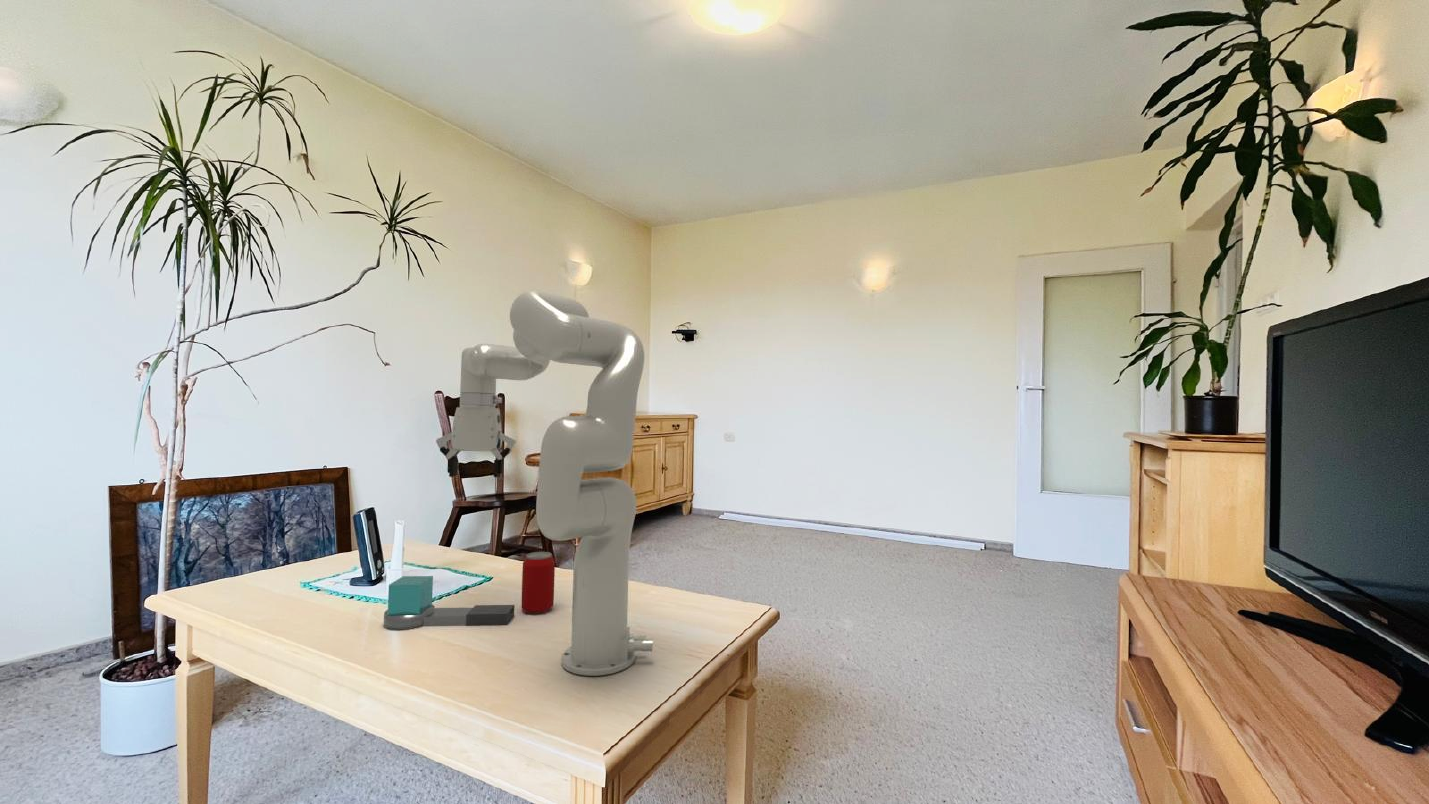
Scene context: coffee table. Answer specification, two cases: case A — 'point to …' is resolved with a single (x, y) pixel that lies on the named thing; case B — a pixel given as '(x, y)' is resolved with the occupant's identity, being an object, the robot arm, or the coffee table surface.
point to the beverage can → (538, 582)
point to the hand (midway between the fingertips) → (475, 476)
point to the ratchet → (452, 617)
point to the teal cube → (410, 595)
